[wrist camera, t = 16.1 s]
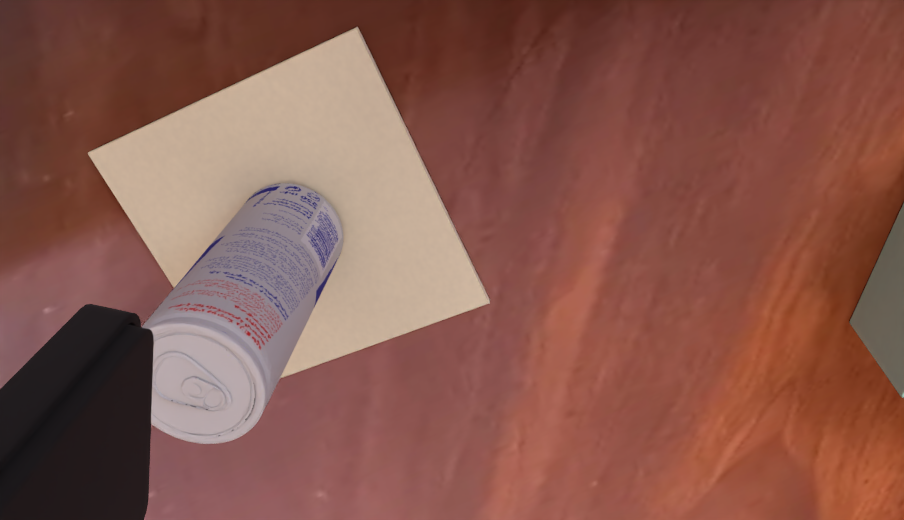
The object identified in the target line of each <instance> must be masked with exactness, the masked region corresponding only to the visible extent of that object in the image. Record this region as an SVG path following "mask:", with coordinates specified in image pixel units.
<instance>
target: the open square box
mask: <svg viewBox="0 0 904 520" xmlns="http://www.w3.org/2000/svg"><path fill="white" fill-rule="evenodd" d="M849 323H850V324H851V326H852V327H853V329H854V330H855V332H856V333H857V334H858V336H859V337H860V339H861V340H862V342H863V343H864V344H865V346H866V347H867V349H868V350H869V352H870V353H871V354H872V356H873V357H874V359H875V360H876V362H877V363H878V365H879V366H880V367H881V369H882V370H883V372H884V373H885V375H886V376H887V377H888V379H889V380H890V382H891V383H892V385H893V386H894V388H895V389H896V390H897V392H898V393H899V395H900V396H901V397H902V398H904V203H903V205H902V208H901V210H900V212H899V214H898V216H897V219H896V221H895V223H894V225H893V227H892V230H891V232H890V234H889V236H888V238H887V241H886V243H885V245H884V247H883V249H882V251H881V254H880V256H879V258H878V260H877V262H876V265H875V267H874V269H873V271H872V273H871V276H870V278H869V280H868V282H867V284H866V287H865V289H864V291H863V293H862V295H861V298H860V300H859V302H858V304H857V306H856V309H855V311H854V313H853V315H852V317H851V320H850V322H849Z"/></svg>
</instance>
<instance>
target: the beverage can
mask: <svg viewBox="0 0 904 520" xmlns="http://www.w3.org/2000/svg"><path fill="white" fill-rule="evenodd" d="M342 246H343V229H342V225H341V222H340V219H339V217H338V215H337V213H336V211H335V210H334V208H333V207H332V206H331V205H330V203H329V202H328V201H327V200H326V199H324V198H323V197H322V196H321V195H319V194H318V193H316V192H315V191H313V190H311V189H309V188H307V187H304V186H301V185H296V184H290V183H278V184H273V185H269V186H266V187H264V188H262V189H260V190H258V191H257V192H255V193H254V194H253V195H252V196H251V197H250V198H249V199H248V200H247V201H246V203H245V204H244V205H243V206H242V208H241V209H240V210H239V211H238V212H237V214H236V215H235V216H234V217H233V218H232V220H231V221H230V222H229V223H228V224H227V226H226V227H225V228H224V229H223V230H222V232H221V233H220V234H219V235H218V236H217V238H216V239H215V240H214V241H213V242H212V243H211V245H210V246H209V247H208V248H207V249H206V251H205V252H204V253H203V254H202V255H201V257H200V258H199V259H198V260H197V261H196V263H195V264H194V265H193V266H192V267H191V269H190V270H189V271H188V272H187V273H186V275H185V276H184V277H183V278H182V279H181V281H180V282H179V283H178V284H177V285H176V287H175V288H174V289H173V290H172V291H171V293H170V294H169V295H168V296H167V297H166V299H165V300H164V301H163V302H162V303H161V305H160V306H159V307H158V308H157V309H156V310H155V312H154V313H153V314H152V315H151V316H150V318H149V319H148V320H147V321H146V322H145V324H144V325H143V326H142V328H147V329H150V330H151V331H152V333H153V338H154V347H153V377H152V406H151V424H152V425H154V426H155V427H156V428H158V429H160V430H161V431H163V432H165V433H167V434H169V435H171V436H173V437H176V438H178V439H182V440H185V441H189V442H194V443H201V444H217V443H224V442H228V441H232V440H235V439H237V438H239V437H241V436H242V435H244V434H245V433H247V432H248V431H250V430H251V429H252V428H253V427H254V426H255V425H256V423H257V422H258V420H259V419H260V417H261V415H262V413H263V411H264V408H265V407H266V406H267V404H268V402H269V400H270V398H271V396H272V393H273V391H274V389H275V387H276V385H277V383H278V381H279V379H280V377H281V375H282V373H283V371H284V369H285V367H286V365H287V363H288V361H289V359H290V356H291V354H292V352H293V350H294V348H295V346H296V344H297V342H298V340H299V338H300V336H301V334H302V332H303V330H304V328H305V326H306V324H307V322H308V319H309V317H310V315H311V313H312V311H313V309H314V307H315V305H316V303H317V301H318V299H319V297H320V295H321V293H322V291H323V289H324V287H325V285H326V283H327V280H328V278H329V276H330V274H331V272H332V270H333V268H334V266H335V264H336V262H337V260H338V258H339V256H340V253H341V250H342Z"/></svg>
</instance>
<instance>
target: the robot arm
mask: <svg viewBox="0 0 904 520" xmlns="http://www.w3.org/2000/svg"><path fill="white" fill-rule="evenodd" d="M153 347H154V338H153V333H152V331H151V330H150V329H147V328H142V327H141V322H140V319H139V316H138V315H137V314H135V313H131V312H126V311H121V310H116V309H112V308H107V307H102V306H97V305H93V304H87V305H85V306H84V307H82V308H81V309H80V310H79V311H78V312H77V313H76V314H75V315H74V316H73V317H72V318H71V319H70V320H69V321H68V322H67V323H66V324H65V325H64V326H63V327H62V328H61V329H60V330H59V331H58V332H57V333H56V334H55V335H54V336H53V337H52V338H51V339H50V340H49V341H48V342H47V343H46V344H45V345H44V346H43V347H42V348H41V349H40V350H39V351H38V352H37V353H36V354H35V355H34V356H33V357H32V358H31V359H30V360H29V361H28V362H27V363H26V364H25V365H24V366H23V367H22V368H21V369H20V370H19V371H18V372H17V373H16V374H15V375H14V376H13V377H12V378H11V379H10V380H9V381H8V382H7V383H6V384H5V385H4V386H3V387H2V388H1V389H0V520H144V517H145V514H146V510H147V505H148V494H149V465H150V435H151V406H152V377H153Z"/></svg>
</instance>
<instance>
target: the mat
mask: <svg viewBox="0 0 904 520" xmlns="http://www.w3.org/2000/svg"><path fill="white" fill-rule="evenodd" d="M88 155H89V157H90V158H91V160H92V161H93V163H94V164H95V166H96V167H97V169H98V171H99V172H100V174H101V175H102V177H103V178H104V180H105V181H106V183H107V185H108V186H109V188H110V189H111V191H112V192H113V194H114V195H115V197H116V199H117V200H118V202H119V203H120V205H121V206H122V208H123V209H124V211H125V213H126V214H127V216H128V217H129V219H130V220H131V222H132V223H133V225H134V227H135V228H136V230H137V231H138V233H139V234H140V236H141V237H142V239H143V241H144V242H145V244H146V245H147V247H148V248H149V250H150V251H151V253H152V255H153V256H154V258H155V259H156V261H157V262H158V264H159V265H160V267H161V269H162V270H163V272H164V273H165V275H166V276H167V278H168V279H169V281H170V283H171V284H172V286H173V287H174V288H175V287H176V285H177V284H178V283H179V282H180V281H181V279H182V278H183V277H184V276H185V275H186V273H187V272H188V271H189V270H190V269H191V267H192V266H193V265H194V264H195V263H196V261H197V260H198V259H199V258H200V257H201V255H202V254H203V253H204V252H205V251H206V249H207V248H208V247H209V246H210V245H211V243H212V242H213V241H214V240H215V239H216V238H217V236H218V235H219V234H220V233H221V232H222V230H223V229H224V228H225V227H226V226H227V224H228V223H229V222H230V221H231V220H232V218H233V217H234V216H235V215H236V214H237V212H238V211H239V210H240V209H241V208H242V206H243V205H244V204H245V203H246V201H247V200H248V199H249V198H250V197H251V196H252V195H253V194H254V193H255V192H257V191H258V190H260V189H262V188H264V187H266V186H269V185H273V184H278V183H290V184H296V185H301V186H304V187H307V188H309V189H311V190H313V191H315V192H316V193H318V194H319V195H321V196H322V197H323V198H324V199H326V200H327V201H328V202H329V203H330V205H331V206H332V207H333V208H334V210H335V211H336V213H337V215H338V217H339V219H340V222H341V225H342V229H343V246H342V250H341V253H340V256H339V258H338V260H337V262H336V264H335V266H334V268H333V270H332V272H331V274H330V276H329V278H328V280H327V283H326V285H325V287H324V289H323V291H322V293H321V295H320V297H319V299H318V301H317V303H316V305H315V307H314V309H313V311H312V313H311V315H310V317H309V319H308V322H307V324H306V326H305V328H304V330H303V332H302V334H301V336H300V338H299V340H298V342H297V344H296V346H295V348H294V350H293V352H292V354H291V356H290V359H289V361H288V363H287V365H286V367H285V369H284V371H283V373H282V375H281V377H280V378H283V377H285V376H288V375H291V374H294V373H297V372H299V371H302V370H305V369H308V368H311V367H313V366H316V365H319V364H322V363H324V362H327V361H330V360H333V359H336V358H338V357H341V356H344V355H347V354H350V353H352V352H355V351H358V350H361V349H363V348H366V347H369V346H372V345H375V344H377V343H380V342H383V341H386V340H389V339H391V338H394V337H397V336H400V335H403V334H405V333H408V332H411V331H414V330H416V329H419V328H422V327H425V326H428V325H430V324H433V323H436V322H439V321H442V320H444V319H447V318H450V317H453V316H455V315H458V314H461V313H464V312H467V311H469V310H472V309H475V308H478V307H481V306H483V305H486V304H489V303H490V299H489V297H488V295H487V293H486V291H485V289H484V287H483V285H482V283H481V281H480V279H479V276H478V274H477V272H476V270H475V268H474V266H473V264H472V262H471V260H470V258H469V256H468V254H467V252H466V250H465V248H464V245H463V243H462V241H461V239H460V237H459V235H458V233H457V231H456V229H455V227H454V225H453V223H452V221H451V219H450V216H449V214H448V212H447V210H446V208H445V206H444V204H443V202H442V200H441V198H440V196H439V194H438V192H437V190H436V187H435V185H434V183H433V181H432V179H431V177H430V175H429V173H428V171H427V169H426V167H425V165H424V163H423V161H422V158H421V156H420V154H419V152H418V150H417V148H416V146H415V144H414V142H413V140H412V138H411V136H410V134H409V132H408V129H407V127H406V125H405V123H404V121H403V119H402V117H401V115H400V113H399V111H398V109H397V107H396V105H395V103H394V101H393V98H392V96H391V94H390V92H389V90H388V88H387V86H386V84H385V82H384V80H383V78H382V76H381V74H380V72H379V69H378V67H377V65H376V63H375V61H374V59H373V57H372V55H371V53H370V51H369V49H368V47H367V45H366V43H365V40H364V38H363V36H362V34H361V32H360V30H359V28H358V27H356V28H354V29H351V30H349V31H347V32H345V33H343V34H341V35H339V36H336V37H334V38H332V39H330V40H328V41H326V42H324V43H321V44H319V45H317V46H315V47H313V48H311V49H309V50H306V51H304V52H302V53H300V54H298V55H296V56H294V57H291V58H289V59H287V60H285V61H283V62H281V63H279V64H276V65H274V66H272V67H270V68H268V69H266V70H264V71H261V72H259V73H257V74H255V75H253V76H251V77H249V78H246V79H244V80H242V81H240V82H238V83H236V84H234V85H231V86H229V87H227V88H225V89H223V90H221V91H219V92H216V93H214V94H212V95H210V96H208V97H206V98H203V99H201V100H199V101H197V102H195V103H193V104H191V105H188V106H186V107H184V108H182V109H180V110H178V111H176V112H173V113H171V114H169V115H167V116H165V117H163V118H161V119H158V120H156V121H154V122H152V123H150V124H148V125H146V126H143V127H141V128H139V129H137V130H135V131H133V132H131V133H128V134H126V135H124V136H122V137H120V138H118V139H116V140H113V141H111V142H109V143H107V144H105V145H103V146H101V147H98V148H96V149H94V150H92V151H90V152H89V153H88Z"/></svg>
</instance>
